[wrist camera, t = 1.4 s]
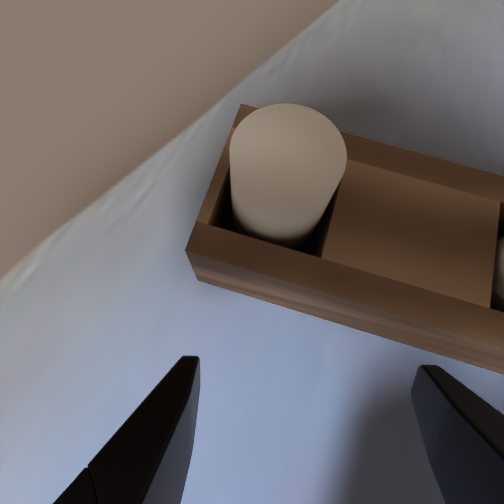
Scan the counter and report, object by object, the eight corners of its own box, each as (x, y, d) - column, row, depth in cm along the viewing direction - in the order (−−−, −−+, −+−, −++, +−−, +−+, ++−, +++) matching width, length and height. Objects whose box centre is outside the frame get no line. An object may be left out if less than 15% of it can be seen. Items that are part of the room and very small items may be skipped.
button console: (530, 382, 22) (628, 384, 17) (197, 280, 24) (184, 250, 18) (538, 246, 25) (625, 209, 20) (240, 162, 27) (241, 103, 21)
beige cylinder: (305, 264, 21) (332, 220, 15) (220, 238, 21) (213, 185, 15) (326, 187, 22) (357, 120, 17) (246, 164, 23) (249, 90, 17)
